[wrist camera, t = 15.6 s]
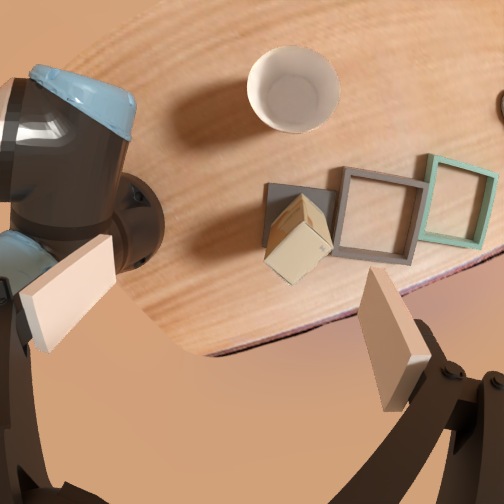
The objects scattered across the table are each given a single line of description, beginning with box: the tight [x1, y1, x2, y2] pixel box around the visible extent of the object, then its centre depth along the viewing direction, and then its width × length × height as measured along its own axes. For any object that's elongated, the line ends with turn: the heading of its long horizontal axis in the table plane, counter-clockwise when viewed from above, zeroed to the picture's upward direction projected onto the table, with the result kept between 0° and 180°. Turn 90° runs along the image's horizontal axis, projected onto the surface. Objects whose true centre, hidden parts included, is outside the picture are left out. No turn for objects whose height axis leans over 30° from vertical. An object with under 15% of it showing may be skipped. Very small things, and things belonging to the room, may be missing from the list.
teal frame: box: [418, 153, 499, 250], centre depth 39 cm, size 12×12×2 cm
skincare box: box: [264, 193, 334, 286], centre depth 37 cm, size 6×4×12 cm
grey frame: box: [330, 166, 429, 266], centre depth 41 cm, size 12×12×2 cm
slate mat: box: [262, 183, 336, 248], centre depth 43 cm, size 9×9×1 cm
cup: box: [247, 45, 340, 134], centre depth 32 cm, size 9×9×12 cm
